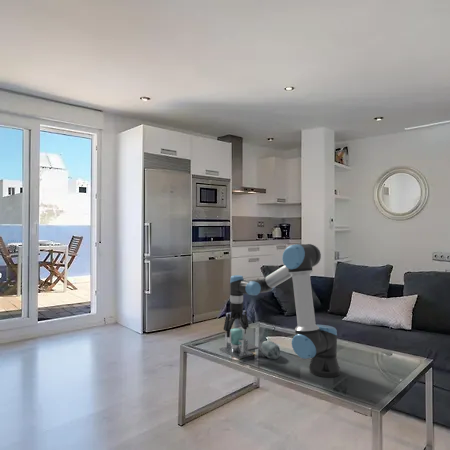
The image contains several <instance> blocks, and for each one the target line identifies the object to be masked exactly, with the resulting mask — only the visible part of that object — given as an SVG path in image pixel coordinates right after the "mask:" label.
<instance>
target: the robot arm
mask: <svg viewBox="0 0 450 450" xmlns="http://www.w3.org/2000/svg"><path fill="white" fill-rule="evenodd" d="M321 259H322V253H321V251H320V249H319V248H318V247H317V246H316V245H314V244H311V243H307V244H304V243H301V244H299V243H297V244H295V243H294V244H291V245H289V246H286V248H285V249H284V251H283V253H282V263H283V266H281V267H279V268H278V269H276V270H275V271H273V272H271V273H270V274H268V275H267V276H265V277H263V278H261V279H256V280H255V279H254V280H246V279H244V276H243V275H238V274H237V275H236V274H235V275H231V276H230V280H229V281H230V282H229V286H230V287H229V288H230V289H229V290H230V291H229V292H230V293H229V309H230V311H229V312H225V318H224V319H225V321H224V325H223V331H225V332H226V334H227V342H228V343H231V331H230V330H231V329H233V328H232V327H233V325H234V322H235V321H236V320H237V319H238V321H239V323H240V326H241V327H242V328H240V329H242V339H246V338H245V337H246V336H245V335H246V333H247V332H246V330H248V328H249V320H248V311H247V310H243V309H244V294H245V295H250V296H258V295H259V294H260V293H261V294H262V293H268V292H272V291H273V290H274V289H275V287H277V286H278V285H280V284H282V283H284V282H285V281H287V280H289V279H290V278H292V286H293V288H292V289H293V295H294V305H295V312H296V322H297V326H295V328H294V332H295V333H294V334H295V335H294V336H293V338H292V339H291V347H292V350H293V351H294V353H295V354H296V355H297V357H299V358H301V359H303V360H304V359H306V360H307V359H310V362H309V366H308V370H309V372H310V373H311V374H312V375H315V376H318V377H322V378H334V377H338V376H340V375H341V367H340V365H339V361H338V358H337V357H338V356H337V353H338V351H337V350H338V343H337V342H338V330H337V329H336V327H334V326H331V325H327V324H326V325H325V324H318V323H317V322H316V316H315V308H314V300H313V292H312V282H311V274H312V272H313V267H315V266H317V265H319V263H320V261H321ZM316 323H317V324H316ZM231 344H232V343H231Z"/></svg>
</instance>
